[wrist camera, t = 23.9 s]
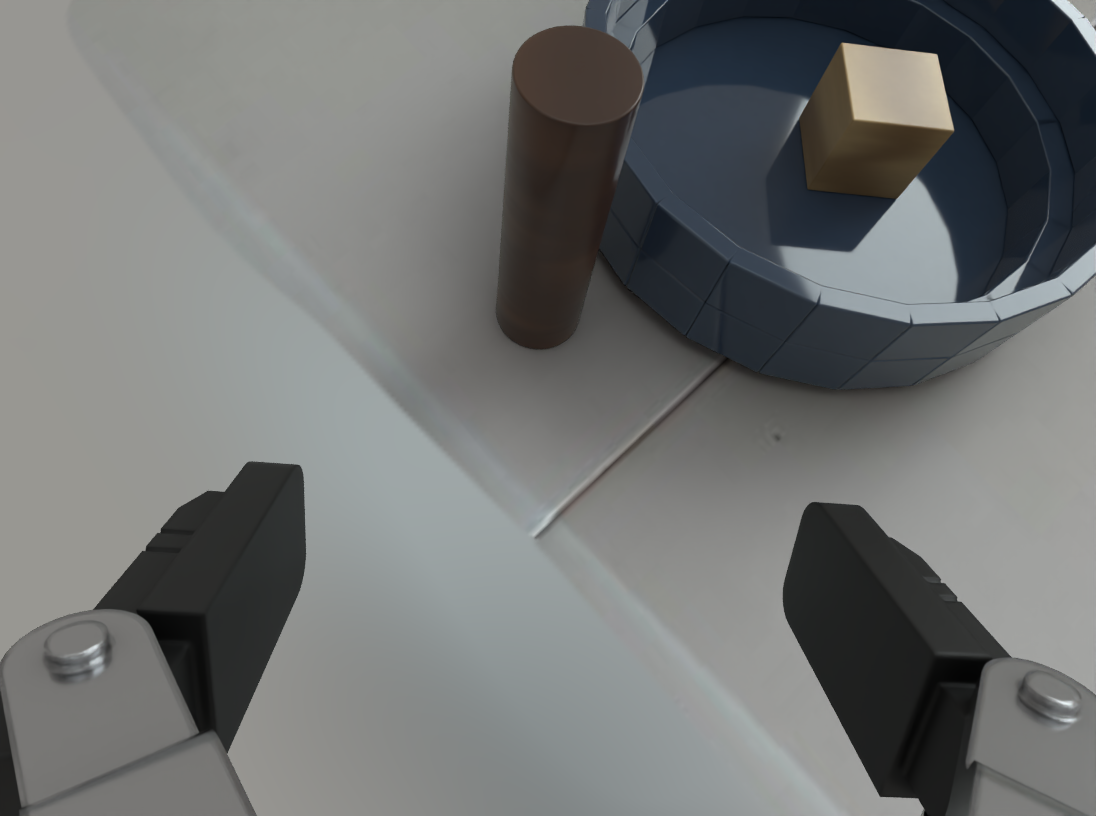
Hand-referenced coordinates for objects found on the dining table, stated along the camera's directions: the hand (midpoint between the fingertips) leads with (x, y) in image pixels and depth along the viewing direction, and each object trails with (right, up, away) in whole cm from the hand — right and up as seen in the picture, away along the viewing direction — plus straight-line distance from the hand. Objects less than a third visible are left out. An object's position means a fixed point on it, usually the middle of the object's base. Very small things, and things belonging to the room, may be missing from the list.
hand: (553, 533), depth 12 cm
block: (+11, +12, +16) cm, 23 cm away
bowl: (+10, +11, +16) cm, 22 cm away
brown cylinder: (0, +5, +13) cm, 14 cm away
